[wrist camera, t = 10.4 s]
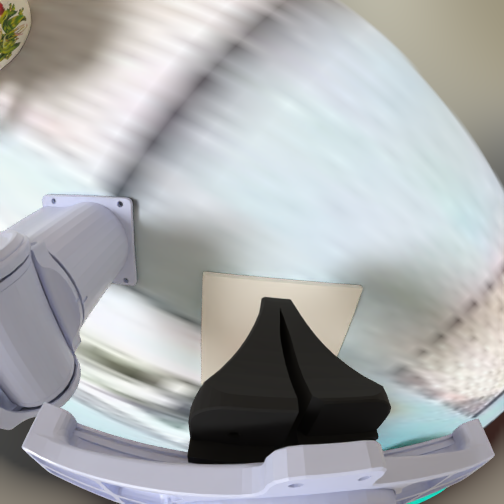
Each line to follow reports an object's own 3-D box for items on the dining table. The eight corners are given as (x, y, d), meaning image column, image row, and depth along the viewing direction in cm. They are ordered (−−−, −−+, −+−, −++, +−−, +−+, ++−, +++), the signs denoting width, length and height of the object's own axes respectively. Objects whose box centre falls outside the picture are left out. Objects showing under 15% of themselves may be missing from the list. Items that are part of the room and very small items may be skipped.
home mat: (202, 396, 32) (201, 400, 31) (203, 271, 24) (202, 274, 23) (313, 402, 33) (313, 405, 32) (360, 285, 25) (362, 288, 24)
